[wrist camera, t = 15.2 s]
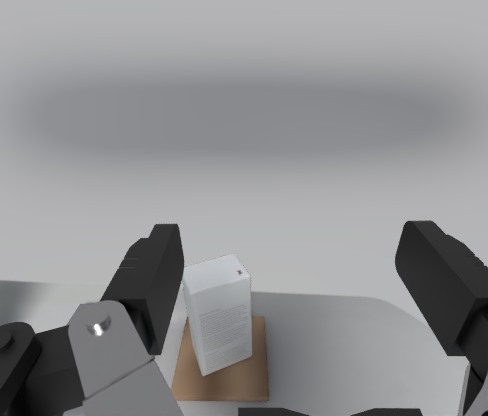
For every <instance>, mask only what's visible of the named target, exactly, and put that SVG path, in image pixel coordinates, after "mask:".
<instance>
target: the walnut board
mask: <svg viewBox="0 0 488 416" xmlns="http://www.w3.org/2000/svg"><path fill="white" fill-rule="evenodd" d="M171 392H172V394H173V396H174V398H175V400H193V401H268V396H269V395H268V377H267V359H266V342H265V324H264V317H252V356H251V357H249V358H247V359H244V360H242V361H239V362H237V363H235V364H232V365H230V366H227V367H225V368H222V369H220V370H218V371H215V372H213V373H210V374H208V375H206V376H202V374H201V371H200V368H199V364H198V361H197V358H196V355H195V351H194V348H193V345H192V338H191V332H190V326H189V320H188V317H187V320H186V325H185V329H184V334H183V338H182V343H181V347H180V352H179V356H178V361H177V365H176V370H175V374H174V379H173V383H172V388H171Z"/></svg>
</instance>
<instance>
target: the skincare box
mask: <svg viewBox="0 0 488 416" xmlns="http://www.w3.org/2000/svg"><path fill="white" fill-rule="evenodd" d="M182 283H183V289H184V295H185V301H186V307H187V313H188V320H189V326H190V332H191V338H192V345H193V348H194V351H195V355H196V358H197V361H198V364H199V368H200V371H201V374H202V376H206V375H208V374H210V373H213V372H215V371H218V370H220V369H222V368H225V367H227V366H230V365H232V364H235V363H237V362H239V361H242V360H244V359H247V358H249V357H251V356H252V311H251V275H250V274H249V273H248V271H247V270H246V269H245V267H244V266H243V265H242V263H241V262H240V260H239V259H238V257H237V256H236V255H235V253H231V254H228V255H225V256H222V257H218V258H215V259H211V260H208V261H204V262H200V263H197V264H193V265H190V266H186V267H184V273H183V277H182Z"/></svg>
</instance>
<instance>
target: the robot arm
mask: <svg viewBox="0 0 488 416" xmlns="http://www.w3.org/2000/svg"><path fill="white" fill-rule="evenodd" d="M395 265H396V270H397V273H398V274H399V276H400V278H401V279H402V281H403V283H404V284H405V286H406V288H407V289H408V291H409V293H410V294H411V296H412V298H413V299H414V301H415V303H416V304H417V306H418V307H419V309H420V311H421V312H422V314H423V316H424V317H425V319H426V321H427V323H428V324H429V326H430V327H431V329H432V331H433V332H434V334H435V336H436V337H437V339H438V341H439V342H440V344H441V346H442V347H443V349H444V351H445V352H446V354H447V356H466V358H467V359H468V361H469V364H468V366H467V367H466V370H465V376H464V382H463V387H462V393H461V398H460V404H459V410H458V415H457V416H488V267H487V266H484V263H483V262H482V261H481V260H479V258H478V257H475V254H474V253H473V252H472V251H470V249H469V248H468V247H467V246H466V245H465V244H464V243H462V242H460V241H458V240H457V239H455V238H453V237H452V236H450V235H446V234H445V233H444V232H443V231H442V230H441V229H440V228H439V227H438V226H437V225H436V224H435V223H434V222H433V221H407V222H406V223H405V225H404V227H403V231H402V234H401V238H400V242H399V245H398V249H397V252H396V257H395ZM183 273H184V256H183V250H182V244H181V238H180V232H179V227H178V225H177V224H156V225H155V226H154V228H153V230H152V232H151V234H150V236H149V238H140V239H139V240H138V241H137V242H136V243H134V244H133V245H132V246H131V247H130V248H129V250H128V252H127V253H126V255H125V257H124V260H123V261H122V262H121V264H120V266H119V269H118V270H117V271H116V273H115V275H114V277H113V278H112V280H111V282H110V284H109V286H108V287H107V289H106V291H105V293H104V295H103V296H102V298H101V300H100V302H97V303H94V304H92V305H90V306H88V307H86V308H84V309H83V310H82V311H80V312H79V313H78V314H77V315H76V316H75V317H74V319H73V320H72V321H71V323H70V325H67V326H63V327H60V328H56V329H52V330H48V331H44V332H41V333H37V334H35V332H34V330H33V328H32V327H31V326H30V325H29V324H27V323H24V322H14V323H9V324H5V325H2V326H0V416H63V414H64V412H65V411H68V410H71V409H74V408H77V407H81V406H83V408H84V412H85V416H183V414H182V412H181V410H180V408H179V406H178V404H177V402H176V400H175V398H174V396H173V394H172V392H171V390H170V388H169V386H168V384H167V383H166V381H165V379H164V377H163V375H162V373H161V371H160V369H159V367H158V365H157V363H156V362H155V360H154V359H151V358H150V356H149V355H161V352H162V349H163V345H164V342H165V338H166V334H167V331H168V327H169V324H170V320H171V316H172V313H173V309H174V306H175V302H176V299H177V295H178V291H179V288H180V284H181V281H182V277H183ZM238 416H309V415H306V414H302V413H299V412H295V411H291V410H288V409H284V408H238ZM351 416H423V415H422V413H421V411H420V409H402V408H374V409H371V410H367V411H364V412H361V413H358V414H354V415H351Z"/></svg>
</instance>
